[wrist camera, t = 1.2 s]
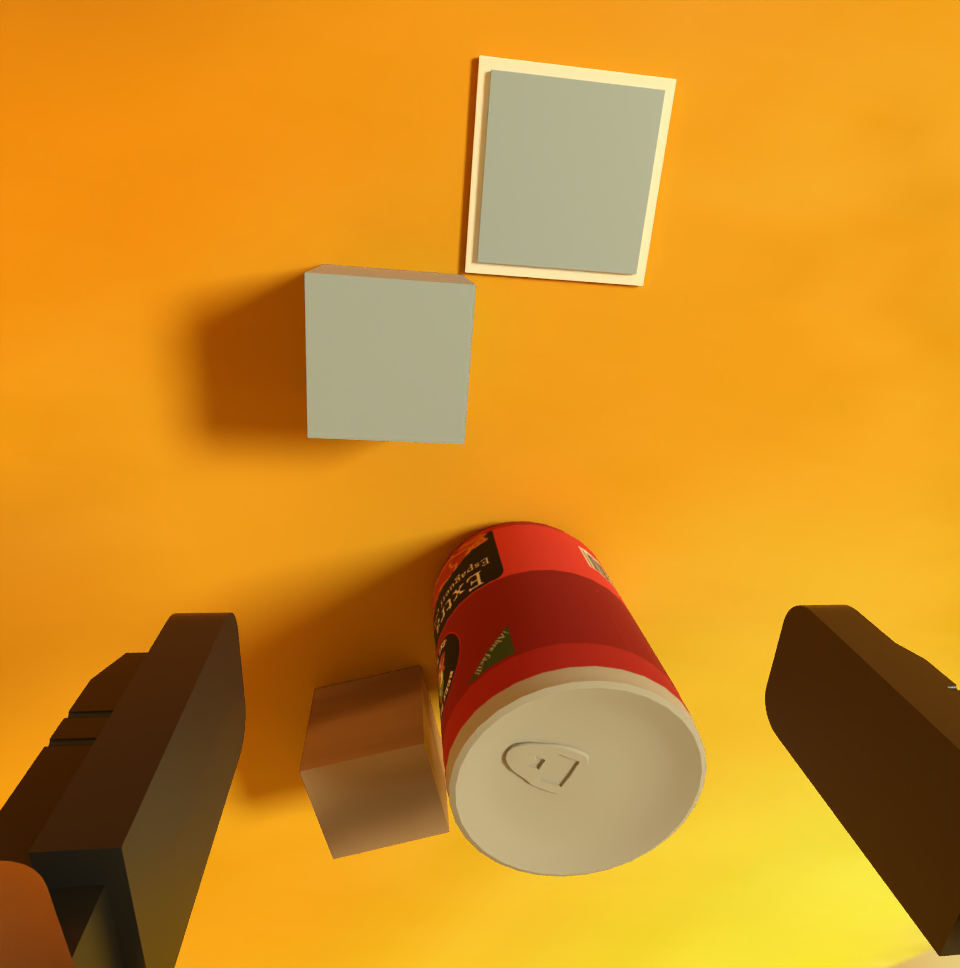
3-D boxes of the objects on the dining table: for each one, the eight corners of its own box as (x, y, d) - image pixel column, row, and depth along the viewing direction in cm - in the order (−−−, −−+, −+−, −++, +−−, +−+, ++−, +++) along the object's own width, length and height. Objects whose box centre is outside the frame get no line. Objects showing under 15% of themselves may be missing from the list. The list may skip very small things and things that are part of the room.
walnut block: (315, 687, 30) (299, 771, 25) (420, 664, 30) (424, 743, 25) (343, 767, 32) (333, 859, 27) (442, 744, 32) (449, 831, 27)
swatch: (479, 56, 21) (480, 54, 21) (674, 80, 22) (678, 77, 22) (464, 271, 24) (465, 272, 23) (641, 285, 25) (644, 286, 24)
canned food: (450, 501, 27) (479, 664, 17) (625, 531, 29) (749, 698, 18) (414, 651, 30) (421, 872, 19) (577, 672, 31) (662, 887, 21)
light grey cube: (323, 264, 23) (304, 272, 19) (461, 274, 24) (475, 285, 19) (324, 399, 25) (307, 437, 20) (453, 405, 26) (464, 443, 21)
